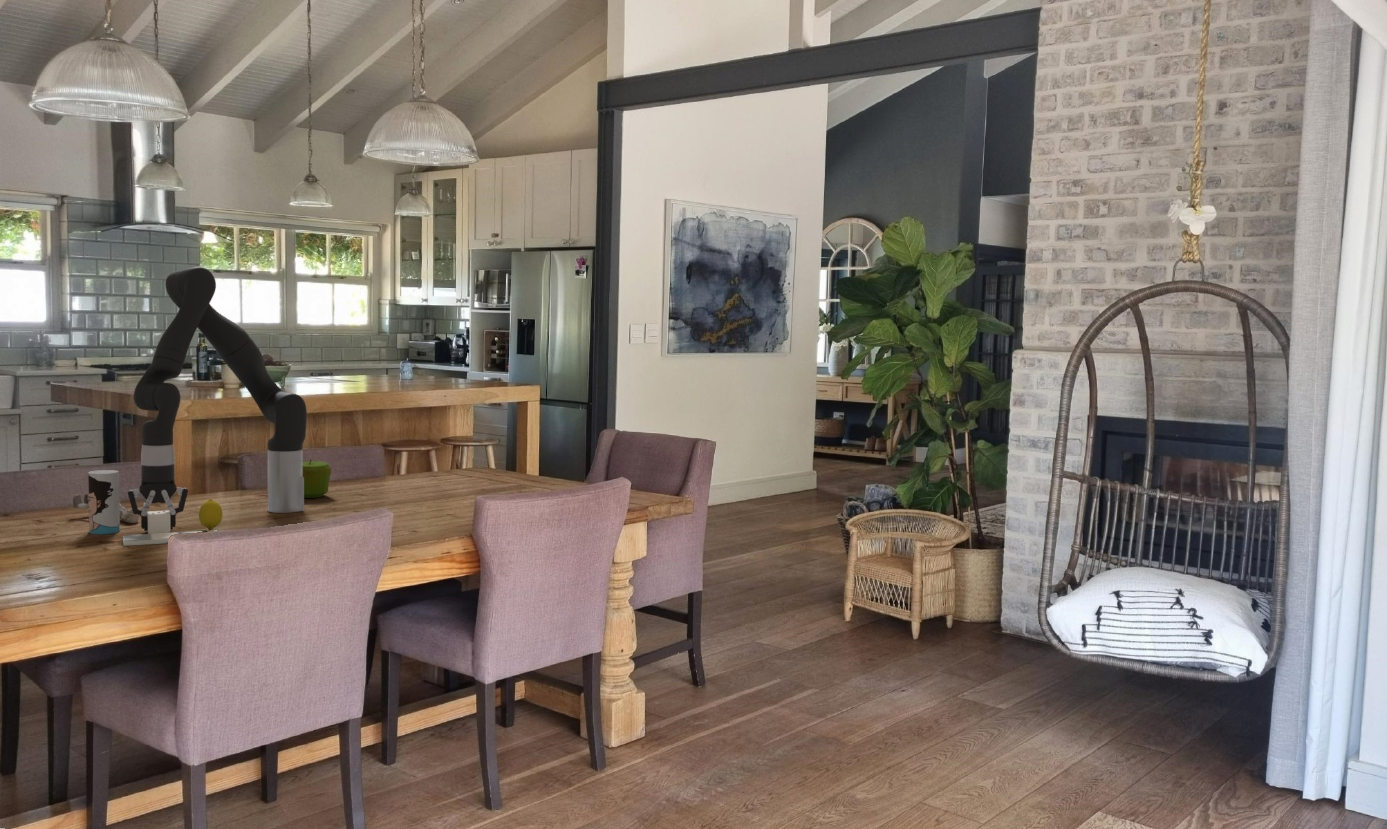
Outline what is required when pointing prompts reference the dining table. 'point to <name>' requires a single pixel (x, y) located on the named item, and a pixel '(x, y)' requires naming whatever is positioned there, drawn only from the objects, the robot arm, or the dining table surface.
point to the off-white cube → (158, 522)
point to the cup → (104, 502)
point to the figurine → (123, 513)
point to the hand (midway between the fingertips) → (158, 529)
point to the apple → (316, 478)
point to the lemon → (210, 514)
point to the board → (150, 538)
